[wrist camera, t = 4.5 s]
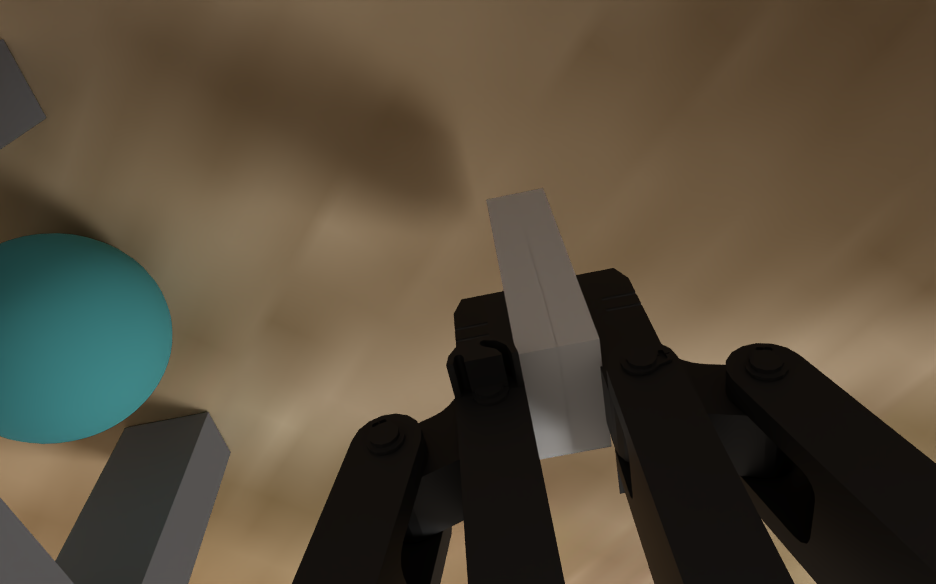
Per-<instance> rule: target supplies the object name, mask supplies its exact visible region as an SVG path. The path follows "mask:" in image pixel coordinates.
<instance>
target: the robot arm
mask: <svg viewBox="0 0 936 584" xmlns="http://www.w3.org/2000/svg"><path fill="white" fill-rule="evenodd" d="M486 201H487V206H488V211H489V216H490V222H491V227H492V232H493V237H494V242H495V247H496V253H497V258H498V263H499V268H500V273H501V279H502V284H503V289H504V291H502V292H497V293H492V294H487V295H482V296H477V297H472V298H467V299H462V300H461V302H460V303H459V305H458V307H457V309H456V311H455V313H454V324H455V338H456V348H455V349H454V350H453V351H452V353H451V354H450V355H449V356H448V360H447V364H446V366H447V370H448V374H449V377H450V381H451V384H452V388H453V392H454V395H455V399H454V400H453V401H452V402H451V404H450V405H449V406H448V407H447V408H445V409H444V410H443V411H442V412H440V413H438V414H437V415H435V416H433V417H431V418H429V419H426V420H424V421H422V422H420V423H418V422H417V421H416V420H415V419H413V418H411V417H410V416H408V415H402V414H390V415H384V416H381V417H378V418H376V419H374V420H372V421H369V422H368V423H367V424H366V425H364V426H363V427H362V428H361V429H359V430H358V432H357V433H356V435H355V437H354V438H353V440H352V442H351V444H350V446H349V449H348V451H347V454H346V456H345V458H344V461H343V463H342V465H341V468H340V470H339V473H338V475H337V477H336V480H335V482H334V485H333V487H332V489H331V492H330V494H329V496H328V499H327V501H326V504H325V506H324V508H323V511H322V513H321V516H320V518H319V520H318V523H317V525H316V528H315V530H314V532H313V535H312V537H311V539H310V542H309V544H308V547H307V549H306V551H305V554H304V556H303V559H302V561H301V563H300V566H299V568H298V571H297V573H296V575H295V578H294V580H293V582H292V584H440V582H441V578H442V574H443V569H444V565H445V560H446V556H447V551H448V547H449V543H450V538H451V534H452V526H453V525H455V524H457V523H459V522H461V521H463V520H464V531H465V546H466V561H467V575H468V584H565V582H564V577H563V572H562V567H561V562H560V557H559V552H558V547H557V542H556V537H555V532H554V527H553V522H552V518H551V513H550V508H549V503H548V498H547V493H546V488H545V483H544V478H543V473H542V468H541V463H540V459H545V458H551V457H556V456H562V455H567V454H573V453H578V452H583V451H589V450H594V449H600V448H605V447H611V438H610V434H611V437H612V440H613V444H614V447H615V453H616V462H617V471H618V480H619V489H620V494H621V493H625V494H626V497H627V500H628V503H629V506H630V509H631V512H632V515H633V519H634V522H635V525H636V528H637V531H638V534H639V537H640V540H641V544H642V547H643V550H644V553H645V556H646V559H647V562H648V565H649V569H650V572H651V575H652V578H653V581H654V584H794V582H793V580H792V578H791V576H790V574H789V572H788V570H787V568H786V566H785V564H784V562H783V561H782V559H781V557H780V555H779V553H778V551H777V549H776V547H775V545H774V543H773V541H772V539H771V537H770V535H769V533H768V531H767V529H766V527H765V525H764V524H763V522H762V520H763V521H764V522H765V524H766V525H767V526H768V527H769V528H770V529H771V531H772V532H773V533H774V534H775V535H776V536H777V538H778V539H779V540H780V541H781V542H782V543H783V545H784V546H785V547H786V548H787V549H788V550H789V552H790V553H791V554H792V555H793V556H794V557H795V559H796V560H797V561H798V562H799V563H800V564H801V566H802V567H803V568H804V569H805V570H806V571H807V573H808V574H809V575H810V576H811V577H812V578H813V580H814V581H815V582H816V583H817V584H936V463H935V462H933V461H932V460H931V459H930V458H928V457H927V456H926V455H925V454H923V453H922V452H921V451H920V450H918V449H917V448H916V447H914V446H913V445H912V444H911V443H909V442H908V441H907V440H906V439H904V438H903V437H902V436H901V435H899V434H898V433H897V432H896V431H894V430H893V429H892V428H891V427H889V426H888V425H887V424H886V423H884V422H883V421H882V420H881V419H879V418H878V417H877V416H876V415H874V414H873V413H872V412H871V411H869V410H868V409H867V408H866V407H864V406H863V405H862V404H860V403H859V402H858V401H857V400H855V399H854V398H853V397H852V396H850V395H849V394H848V393H847V392H845V391H844V390H843V389H842V388H840V387H839V386H838V385H837V384H835V383H834V382H833V381H832V380H830V379H829V378H828V377H827V376H825V375H824V374H823V373H822V372H820V371H819V370H818V369H817V368H815V367H814V366H813V365H812V364H810V363H809V362H808V361H806V360H805V359H804V358H803V357H801V356H800V355H799V354H797V353H795V352H794V351H792V350H790V349H788V348H786V347H782V346H779V345H775V344H764V343H755V344H751V345H746V346H742V347H740V348H738V349H737V350H735V351H733V352H732V353H731V354H730V356H729V357H728V359H727V360H726V365H715V364H699V363H692V362H688V361H684V360H681V359H679V358H678V356H677V355H676V354H675V353H674V352H673V351H672V350H671V349H670V348H668V347H666V346H664V345H662V344H661V342H660V340H659V338H658V336H657V334H656V332H655V330H654V328H653V326H652V324H651V322H650V320H649V318H648V316H647V314H646V312H645V310H644V308H643V306H642V305H641V302H640V300H639V298H638V296H637V294H636V293H635V290H634V288H633V286H632V284H631V282H630V280H629V278H628V277H626V276H625V275H623V274H622V273H620V272H619V271H617V270H616V269H614V268H611V269H606V270H601V271H596V272H591V273H585V274H580V275H575V272H574V270H573V267H572V264H571V262H570V259H569V256H568V254H567V251H566V248H565V246H564V243H563V240H562V237H561V235H560V232H559V229H558V227H557V224H556V221H555V219H554V216H553V213H552V211H551V208H550V205H549V203H548V200H547V197H546V195H545V192H544V189H543V188H540V189H535V190H531V191H526V192H521V193H516V194H511V195H506V196H501V197H496V198H492V199H487V200H486ZM761 519H762V520H761Z"/></svg>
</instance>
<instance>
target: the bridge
mask: <svg viewBox="0 0 936 584" xmlns="http://www.w3.org/2000/svg"><path fill="white" fill-rule="evenodd" d="M44 119H46V116H45V114H44V113H43V111H42V109H41V107H40V105H39V103H38V102H37V100H36V98H35V96H34V94H33V93H32V91H31V89H30V87H29V85H28V83H27V82H26V80H25V78H24V76H23V74H22V73H21V71H20V69H19V67H18V65H17V63H16V62H15V60H14V58H13V56H12V54H11V53H10V51H9V49H8V47H7V45H6V43H5V42H4V40H3V39H1V40H0V149H2V148H3V147H5V146H6V145H8V144H9V143H11V142H12V141H13V140H15V139H16V138H18V137H19V136H21V135H22V134H24V133H25V132H27V131H28V130H30V129H31V128H32V127H34V126H35V125H37V124H38V123H40V122H41V121H43V120H44ZM230 453H231V452H230V450H229V449H228V447H227V445H226V443H225V441H224V440H223V438H222V436H221V434H220V432H219V430H218V429H217V427H216V425H215V423H214V421H213V420H212V418H211V416H210V414H209V412H206V413H201V414H195V415H190V416H185V417H180V418H175V419H169V420H164V421H159V422H154V423H148V424H143V425H138V426H133V427H128V428H125V429H124V431H123V433H122V435H121V437H120V439H119V441H118V442H117V444H116V446H115V448H114V450H113V452H112V454H111V456H110V458H109V460H108V462H107V463H106V465H105V467H104V469H103V471H102V473H101V475H100V477H99V479H98V481H97V483H96V484H95V486H94V488H93V490H92V492H91V494H90V496H89V498H88V500H87V502H86V504H85V505H84V507H83V509H82V511H81V513H80V515H79V517H78V519H77V521H76V523H75V525H74V526H73V528H72V530H71V532H70V534H69V536H68V538H67V540H66V542H65V544H64V546H63V548H62V549H61V551H60V553H59V555H58V557H57V559H56V561H54V560H53V559H52V557H51V556H50V555H49V554H48V553H47V552H46V550H45V549H44V548H43V547H42V546H41V545H40V543H39V542H38V541H37V540H36V539H35V538H34V536H33V535H32V534H31V533H30V532H29V531H28V529H27V528H26V527H25V526H24V525H23V524H22V522H21V521H20V520H19V519H18V518H17V517H16V515H15V514H14V513H13V512H12V511H11V510H10V508H9V507H8V506H7V505H6V504H5V503H4V501H3V500H2V499H1V498H0V584H188V583H189V580H190V577H191V574H192V570H193V567H194V564H195V561H196V558H197V555H198V552H199V549H200V546H201V543H202V540H203V536H204V533H205V530H206V527H207V524H208V521H209V518H210V515H211V512H212V509H213V505H214V502H215V499H216V496H217V493H218V490H219V487H220V484H221V481H222V478H223V475H224V471H225V468H226V465H227V462H228V459H229V456H230Z"/></svg>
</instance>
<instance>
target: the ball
mask: <svg viewBox="0 0 936 584" xmlns="http://www.w3.org/2000/svg"><path fill="white" fill-rule="evenodd" d="M171 347H172V323H171V316H170V312H169V309H168V306H167V303H166V301H165V298H164V296H163V294H162V292H161V290H160V288H159V287H158V285H157V284H156V282H155V281H154V279H153V278H152V277H151V276H150V275H149V274H148V272H147V271H146V270H145V269H144V268H143V267H142V266H141V265H140V264H139V263H137V262H136V261H135V260H134V259H133V258H131V257H129V256H128V255H126V254H125V253H123V252H122V251H120V250H119V249H117V248H115V247H113V246H111V245H109V244H106V243H104V242H101V241H97V240H94V239H91V238H88V237H83V236H78V235H73V234H61V233H51V234H35V235H29V236H23V237H19V238H15V239H12V240H8V241H6V242H3V243H1V244H0V436H1V437H4V438H7V439H11V440H16V441H21V442H28V443H40V444H49V443H62V442H69V441H74V440H79V439H83V438H87V437H90V436H93V435H95V434H98V433H101V432H103V431H105V430H107V429H109V428H111V427H113V426H115V425H116V424H118V423H120V422H121V421H123V420H124V419H126V418H127V417H128V416H130V415H131V414H132V413H134V412H135V411H136V410H137V409H138V408H139V407H140V406H141V405H142V404H143V403H144V402H145V401H146V400H147V399H148V397H149V396H150V395H151V394H152V392H153V391H154V390H155V388H156V387H157V385H158V384H159V382H160V380H161V378H162V376H163V374H164V372H165V369H166V367H167V365H168V361H169V357H170V354H171Z"/></svg>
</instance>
